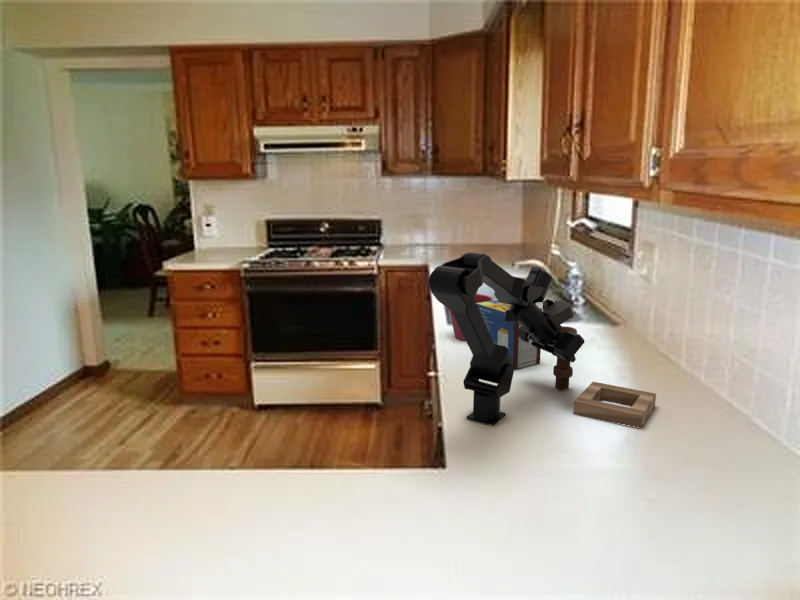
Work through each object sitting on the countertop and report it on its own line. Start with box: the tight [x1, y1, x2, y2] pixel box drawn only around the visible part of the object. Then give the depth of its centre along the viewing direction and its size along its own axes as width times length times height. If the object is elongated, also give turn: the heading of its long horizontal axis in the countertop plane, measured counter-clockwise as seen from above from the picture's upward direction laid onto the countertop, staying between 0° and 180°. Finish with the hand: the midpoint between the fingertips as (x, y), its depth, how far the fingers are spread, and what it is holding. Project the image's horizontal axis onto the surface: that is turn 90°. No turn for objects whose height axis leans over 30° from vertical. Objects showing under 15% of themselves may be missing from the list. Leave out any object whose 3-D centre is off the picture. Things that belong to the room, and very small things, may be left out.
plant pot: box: [446, 293, 495, 342], centre depth 187 cm, size 14×14×13 cm
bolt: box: [552, 325, 578, 391], centre depth 144 cm, size 6×5×15 cm
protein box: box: [477, 299, 543, 371], centre depth 166 cm, size 10×15×16 cm
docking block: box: [572, 381, 657, 429], centre depth 133 cm, size 14×14×3 cm
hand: (568, 358), depth 145 cm, fingers closed on bolt, 4 cm apart
